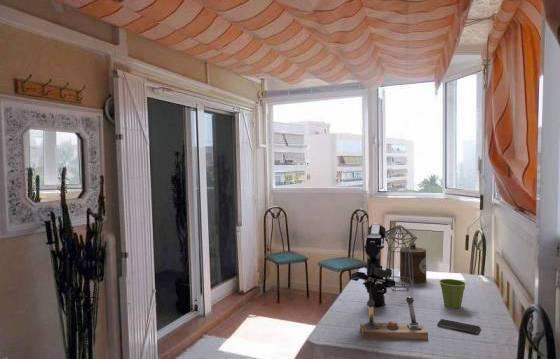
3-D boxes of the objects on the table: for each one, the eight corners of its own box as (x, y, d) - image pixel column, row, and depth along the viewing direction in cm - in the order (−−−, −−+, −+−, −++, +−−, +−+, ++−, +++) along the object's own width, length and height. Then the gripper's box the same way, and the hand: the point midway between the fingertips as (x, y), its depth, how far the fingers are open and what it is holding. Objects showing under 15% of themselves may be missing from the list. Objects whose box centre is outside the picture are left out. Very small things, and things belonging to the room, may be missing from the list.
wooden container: (428, 284, 212) (427, 245, 212) (401, 282, 216) (400, 244, 216) (424, 277, 227) (424, 240, 227) (399, 275, 230) (398, 240, 230)
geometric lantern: (410, 285, 211) (410, 223, 210) (417, 294, 195) (418, 227, 194) (381, 284, 213) (382, 222, 211) (386, 293, 197) (387, 227, 196)
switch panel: (360, 328, 152) (359, 318, 151) (420, 329, 150) (420, 318, 150) (363, 338, 143) (363, 327, 142) (428, 339, 141) (427, 327, 141)
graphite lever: (409, 325, 147) (404, 296, 150) (415, 324, 147) (410, 296, 151) (412, 325, 144) (407, 296, 148) (419, 324, 144) (414, 296, 148)
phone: (477, 333, 144) (436, 324, 153) (477, 336, 144) (436, 327, 153) (480, 326, 150) (441, 318, 159) (480, 329, 150) (441, 321, 159)
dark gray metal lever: (368, 322, 149) (367, 298, 146) (375, 322, 148) (374, 298, 145) (367, 326, 146) (366, 302, 143) (374, 327, 145) (374, 302, 143)
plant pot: (470, 311, 169) (469, 286, 169) (442, 309, 172) (441, 285, 172) (462, 302, 181) (462, 279, 181) (436, 301, 183) (436, 278, 183)
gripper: (364, 255, 154) (363, 293, 147) (403, 264, 159) (403, 302, 152) (351, 260, 164) (349, 297, 157) (387, 269, 168) (387, 305, 161)
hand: (372, 300), depth 156 cm, fingers closed
